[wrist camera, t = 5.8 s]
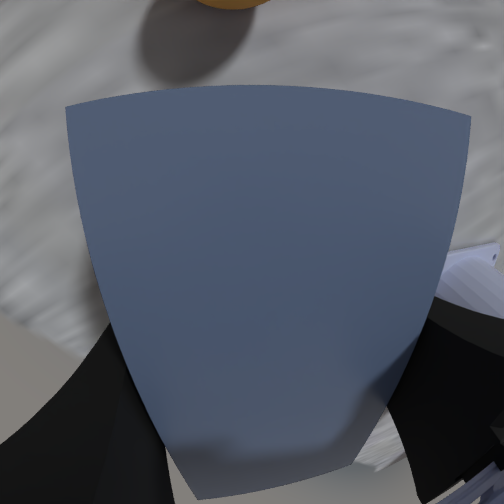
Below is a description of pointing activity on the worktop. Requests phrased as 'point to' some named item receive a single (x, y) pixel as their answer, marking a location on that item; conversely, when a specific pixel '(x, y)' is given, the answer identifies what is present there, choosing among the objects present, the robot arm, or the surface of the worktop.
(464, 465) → the robot arm
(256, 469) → the slate blue block
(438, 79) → the worktop surface
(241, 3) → the ball
